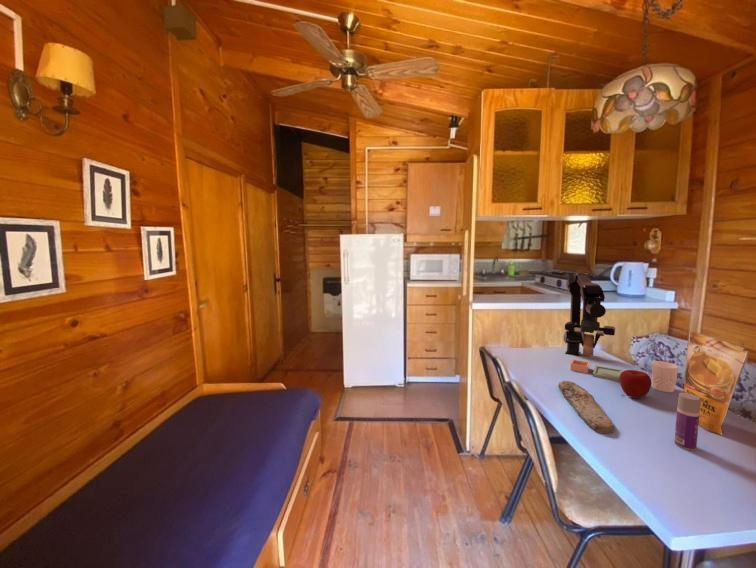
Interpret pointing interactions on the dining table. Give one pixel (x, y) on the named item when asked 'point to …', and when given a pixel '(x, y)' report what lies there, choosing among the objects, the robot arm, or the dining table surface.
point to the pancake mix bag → (712, 376)
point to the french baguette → (586, 407)
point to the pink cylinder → (664, 376)
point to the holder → (580, 366)
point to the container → (687, 421)
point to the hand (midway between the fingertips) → (588, 346)
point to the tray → (607, 373)
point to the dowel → (588, 344)
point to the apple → (635, 383)
